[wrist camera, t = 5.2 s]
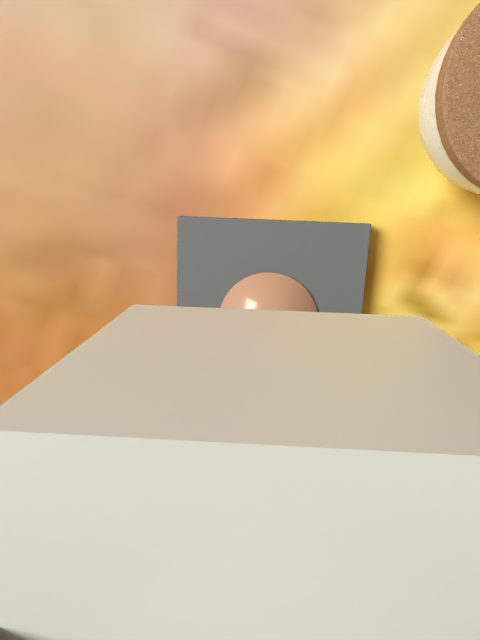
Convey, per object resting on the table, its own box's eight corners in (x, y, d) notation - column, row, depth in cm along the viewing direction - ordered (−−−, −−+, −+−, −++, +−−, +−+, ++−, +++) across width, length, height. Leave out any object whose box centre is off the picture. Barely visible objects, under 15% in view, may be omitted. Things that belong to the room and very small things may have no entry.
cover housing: (140, 543, 18) (27, 858, 9) (133, 304, 16) (-31, 429, 7) (389, 559, 18) (511, 902, 9) (422, 316, 15) (637, 463, 6)
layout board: (179, 568, 39) (176, 581, 37) (180, 216, 31) (176, 216, 30) (329, 579, 38) (331, 593, 37) (367, 223, 31) (371, 224, 29)
